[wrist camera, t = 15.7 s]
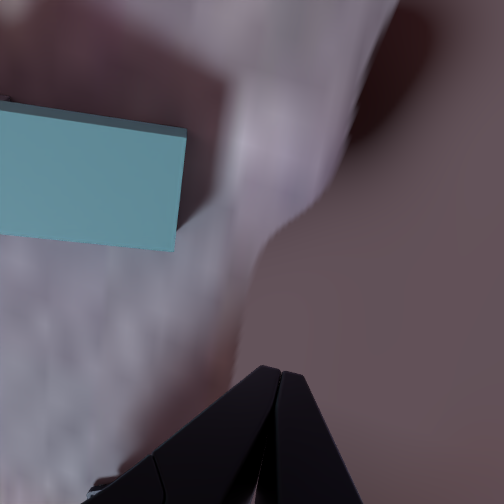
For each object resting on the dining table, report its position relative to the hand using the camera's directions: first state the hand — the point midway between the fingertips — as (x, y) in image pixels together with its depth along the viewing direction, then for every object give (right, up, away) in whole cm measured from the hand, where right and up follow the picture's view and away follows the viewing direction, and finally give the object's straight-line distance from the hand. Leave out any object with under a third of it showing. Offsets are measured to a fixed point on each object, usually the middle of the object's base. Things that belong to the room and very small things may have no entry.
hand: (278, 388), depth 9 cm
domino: (-4, +5, +12) cm, 13 cm away
